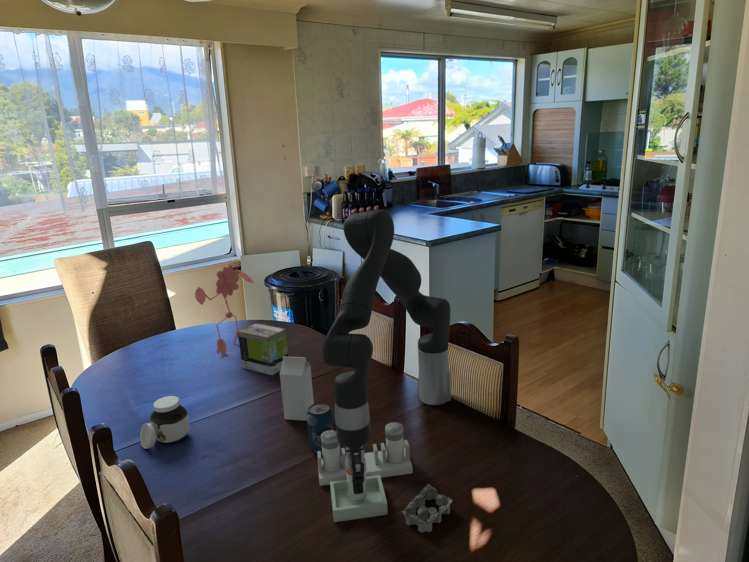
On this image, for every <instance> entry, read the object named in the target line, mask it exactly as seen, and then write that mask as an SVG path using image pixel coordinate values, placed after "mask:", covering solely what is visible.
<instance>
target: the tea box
mask: <svg viewBox="0 0 749 562" xmlns="http://www.w3.org/2000/svg"><path fill="white" fill-rule="evenodd" d="M238 337H239V338H238ZM238 337H237V338H238V345H239V351H240V357H241V358H240V359H241V366H242V367H241V368H243V369H246V370H250V371H253V372H257V373H261V374H264V375H265V374H266V375H269V376H274V375H275V374H277V373H280V370H281V366H282V362H283V356H284V357H289V350H288V341H287V339H288V337H287V330H286V328H283V327H278V326H272V325H268V324H263V323H258V322H257V323H254V324H251V325H249V326H247V327H245V328H243V329H240V330H238Z"/></svg>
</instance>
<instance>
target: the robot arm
mask: <svg viewBox="0 0 749 562" xmlns="http://www.w3.org/2000/svg"><path fill="white" fill-rule="evenodd" d="M342 228H343V235H344V237H345V240H346V242H347V243H348V245H349V246H350V247H351V249H352V250H353V251H354V252H355V253H356V254H357V255H358V256H359V257H360V258H362V262H361V264H360V265H359V266H358V267H357V269H356V270H355V271H354V272H353V273H352V275H351V276H350V278H349V279H348V281H347V283H345V284H346V285H345V286H344V289H343V292H342V295H341V296H342V297H341V300H340V305H339V310H338V314H337V316H336V318H335V320H334V322H333V323H332V325H331V327H330V329H329V330H328V332H327V334H326V336H325V337H324V340H323V342H322V343H323V344H322V346H321V347H322V348H321V355H322V359H323V361H324V363H325V364H327V365H328V366H331V367H341V368H342V367H343V368H354V370H352V371H346V372H343V373H340V374H338V375H337V376H336V377H335V378H334V381H333V392H334V393H333V394H334V420H335V421H334V422H335V431H336V434H337V440H338V442H339V443H340V446H341V445H342V446H343V447H344V448H345V454H346V456H347V458H348V464H349V470H350V471H351V472H352V477H351V479H352V482H353V492H354V494H362V493H363V482H364V480H365V478H364V468H365V466H364V455H365V453H366V452H365V447H364V445H365V444H367V443H368V442H369V441H370V439H371V436H372V435H371V434H372V433H371V432H372V431H371V418H370V407H369V401H368V387H367V385H368V381H367V380H368V374H369V368H370V365H371V361H372V358H373V357H372V356H373V353H374V346H373V345H374V344H373V343H372V342H373V341H372V340H371V338H370V337H369V336H368V335H366V334H363V333H351V332H353V331H357V330H361V329H364V328H367V327H368V325H369V323H370V321H371V317H372V310H373V305H374V300H375V296H376V295H375V294H376V290H377V287H378V283H379V281H380V278H381V279H382V281H383V282H384V284H385V285H386V286H387V287H388V288H389V289H390V290H391V292H392V293H393V294H394V295H395V296H396V298H398V300H399V301H400V302H401V304H402V305H403V307H404V308H405V311H406V312H407V313H408V315H409V317H410V318H411V320H412V322H414V324H416V325H417V326H421V327H425V328H431V329H432V332H431V333H428V334H424V335H422V336H420V337H419V338H418V340H417V352H418V353H417V356H418V358H417V359H418V360H417V361H418V363H417V364H418V389H419V391H418V394H419V397H418V398H419V400H420V401H421V403H423V404H426V405H429V406H441V405H444V404H446V403H447V402H451V401H452V397H451V396H452V394H451V393H452V392H451V391H452V390H451V389H452V386H451V385H452V383H451V378H452V376H451V371H450V370H449V368H450V367H449V343H450V329H451V306H450V301H448V300H447V299H446V298H442V297H435V296H429V295H424V294H423V293H422V292H420V289H421V285H422V275H421V273H420V271H419V269H418V268H417V267H416V265H415V264H414V262H413V261H412V260H411V259H410V257H408V256H407V255H405V254H403V253H401V252H400V251H397V250H396V249H395V250H394V249H392V245H393V242H394V236H395V224H394V220H393V218H392V215H391V213H390V212H388V211H387V210H386V209H373V210H368V211H363V212H356V213H354V214H351V215H349V216H348V217H347V218H346V219H345V220H344V222H343V227H342ZM351 463H352V465H351Z"/></svg>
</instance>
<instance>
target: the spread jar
mask: <svg viewBox="0 0 749 562" xmlns="http://www.w3.org/2000/svg"><path fill="white" fill-rule="evenodd" d="M152 405H153V411H152V412H151V413H150V416H149V423H148V422H146V423H143V425H142V426H141V429H140V432H139V433H140V435H139V439H140V440H139V441H140V443H141V444H140V445H141V447H142V448H143V449H148V450H149V449H152V448H153V447H154V445H155V443H156V442H158V443H159V444H161V445H166V446H172V445H176V444H178V443H180V442H181V441H183V440H184V439H185V438H186V437H187V436H188V434H189V433H190V431H191V423H190V416H189V413H188V411H187V409H186V408H185V407H184V406H183V405H181V404H180V398H179V397H177V396H175V395H169V396H164V397H161V398H158V399H157V400H155V401H154V403H153V404H152ZM146 445H147V446H148V447H147V446H146Z"/></svg>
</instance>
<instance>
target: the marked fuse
mask: <svg viewBox="0 0 749 562" xmlns="http://www.w3.org/2000/svg"><path fill="white" fill-rule="evenodd" d="M351 465H352V463H351ZM345 466H346V474H347V488H348V497H349V498H350V499H351V500H353V501H360V500H363V499H365V498H366V497H367V482H366V462H365V457H364V466H365V468H364V478H365V480H364V482H363V493H362V494H354V492H353V482H352V479H351V477H352V472H351V471H350V470H349V464H348V458H346V460H345Z"/></svg>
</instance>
